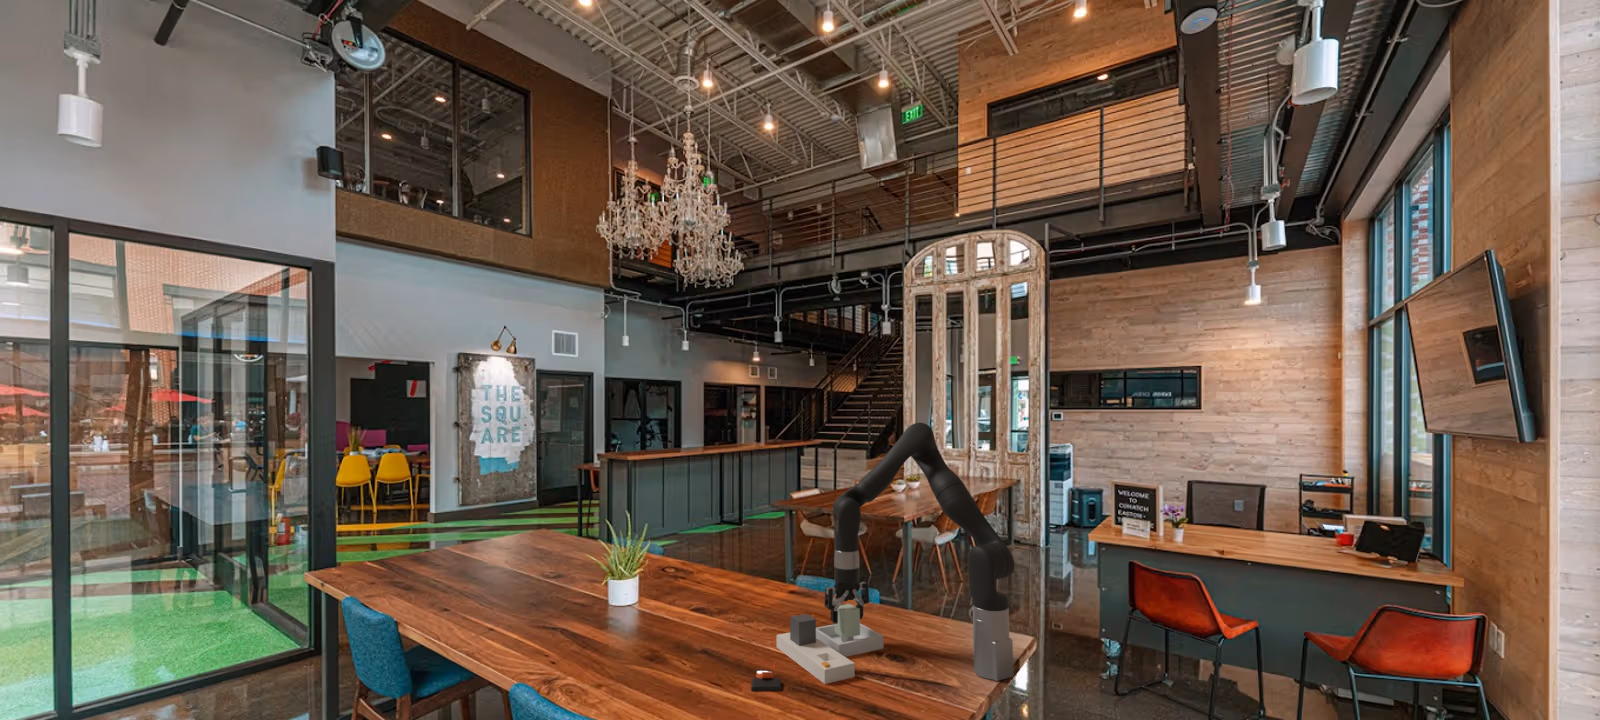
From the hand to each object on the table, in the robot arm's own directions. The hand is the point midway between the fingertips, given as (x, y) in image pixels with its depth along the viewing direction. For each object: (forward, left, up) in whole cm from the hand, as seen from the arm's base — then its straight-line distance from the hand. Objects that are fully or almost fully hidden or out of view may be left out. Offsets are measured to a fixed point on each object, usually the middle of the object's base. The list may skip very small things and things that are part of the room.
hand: (847, 620), depth 184 cm
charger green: (0, 0, -6) cm, 6 cm away
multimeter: (-8, +32, -8) cm, 34 cm away
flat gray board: (-6, +15, -7) cm, 18 cm away
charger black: (0, +15, -6) cm, 16 cm away
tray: (0, 0, -7) cm, 7 cm away
